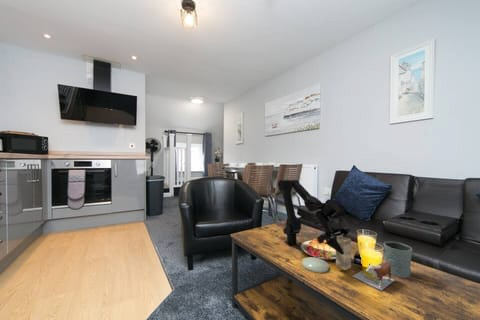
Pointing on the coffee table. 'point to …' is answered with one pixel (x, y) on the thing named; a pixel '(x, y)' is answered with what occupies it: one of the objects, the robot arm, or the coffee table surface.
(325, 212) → the robot arm
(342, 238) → the birch block
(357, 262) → the black recessed tray
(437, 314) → the coffee table surface
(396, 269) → the grey green pot
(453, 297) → the coffee table surface
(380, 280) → the bull figurine
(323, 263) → the saucer
